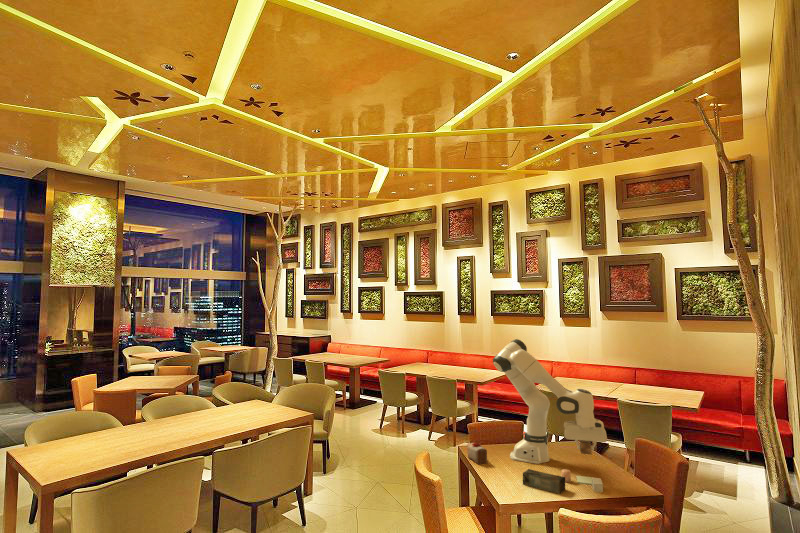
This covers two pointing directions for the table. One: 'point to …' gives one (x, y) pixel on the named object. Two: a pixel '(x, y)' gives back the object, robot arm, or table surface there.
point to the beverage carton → (544, 481)
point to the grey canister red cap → (477, 453)
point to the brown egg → (566, 475)
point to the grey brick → (597, 484)
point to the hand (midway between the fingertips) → (585, 449)
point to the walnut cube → (585, 447)
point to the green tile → (584, 480)
